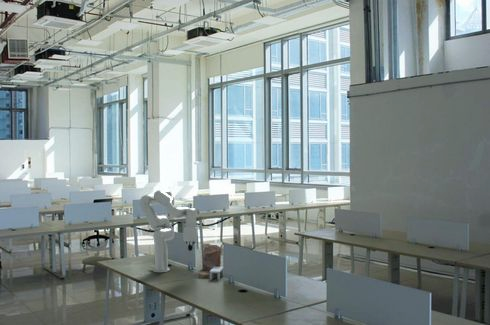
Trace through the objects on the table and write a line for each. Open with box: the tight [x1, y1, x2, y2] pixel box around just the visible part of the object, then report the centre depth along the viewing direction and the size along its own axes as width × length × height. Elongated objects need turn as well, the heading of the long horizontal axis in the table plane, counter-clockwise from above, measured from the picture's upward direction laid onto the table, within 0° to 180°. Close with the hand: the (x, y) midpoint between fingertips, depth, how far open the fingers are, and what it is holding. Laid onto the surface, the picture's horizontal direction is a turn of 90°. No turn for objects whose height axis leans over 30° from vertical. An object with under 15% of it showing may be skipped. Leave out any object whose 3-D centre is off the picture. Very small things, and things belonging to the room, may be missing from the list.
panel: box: [197, 270, 218, 279], centre depth 380 cm, size 14×8×3 cm, turn 81°
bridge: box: [209, 266, 225, 281], centre depth 377 cm, size 7×14×6 cm, turn 170°
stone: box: [201, 243, 222, 272], centre depth 397 cm, size 19×11×20 cm, turn 52°
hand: (190, 250), depth 380 cm, fingers closed
